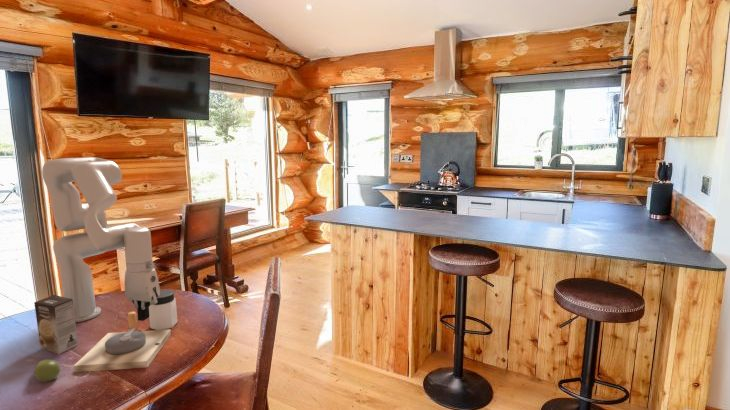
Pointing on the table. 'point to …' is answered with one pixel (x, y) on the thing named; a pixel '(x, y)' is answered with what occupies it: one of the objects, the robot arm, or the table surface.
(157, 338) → the board
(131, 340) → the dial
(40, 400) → the table surface
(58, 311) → the coffee box
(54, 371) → the pear
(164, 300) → the jar
